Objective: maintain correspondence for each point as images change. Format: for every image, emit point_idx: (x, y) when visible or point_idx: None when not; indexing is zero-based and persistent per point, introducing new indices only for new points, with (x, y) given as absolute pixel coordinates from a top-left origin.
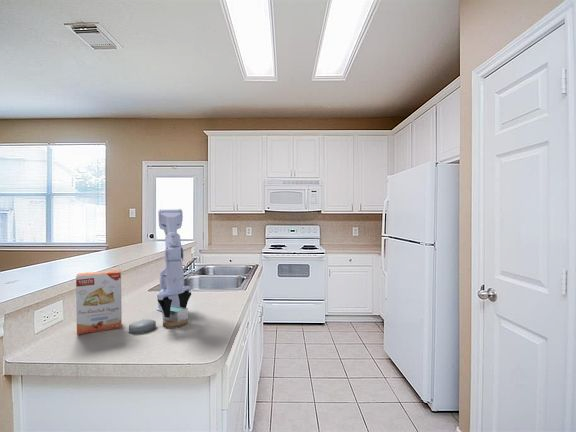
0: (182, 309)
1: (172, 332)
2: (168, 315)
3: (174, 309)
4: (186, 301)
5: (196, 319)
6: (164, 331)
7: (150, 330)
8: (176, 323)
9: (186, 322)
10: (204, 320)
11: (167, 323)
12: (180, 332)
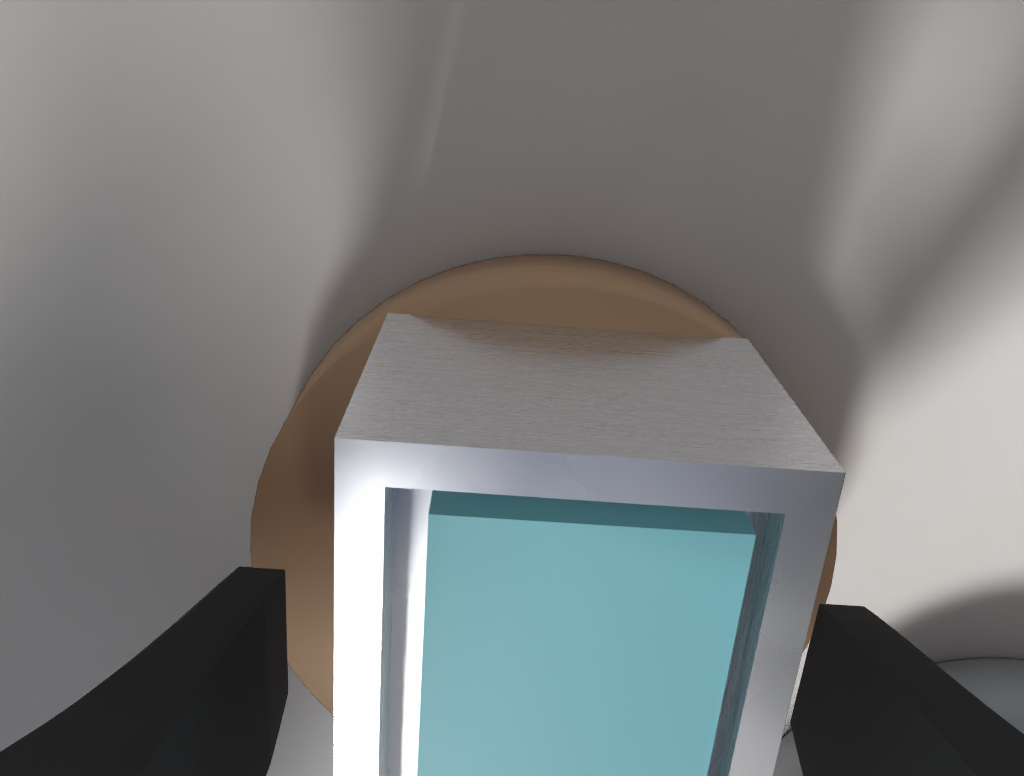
0: (490, 534)
1: (1015, 198)
2: (899, 639)
3: (591, 749)
4: (108, 752)
5: (101, 266)
6: (991, 405)
7: (1019, 665)
8: None
9: (466, 275)
10: (39, 4)
11: (832, 537)
12: (981, 5)
